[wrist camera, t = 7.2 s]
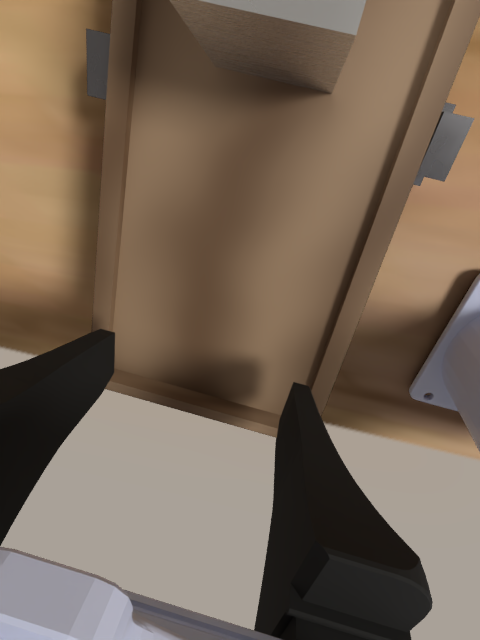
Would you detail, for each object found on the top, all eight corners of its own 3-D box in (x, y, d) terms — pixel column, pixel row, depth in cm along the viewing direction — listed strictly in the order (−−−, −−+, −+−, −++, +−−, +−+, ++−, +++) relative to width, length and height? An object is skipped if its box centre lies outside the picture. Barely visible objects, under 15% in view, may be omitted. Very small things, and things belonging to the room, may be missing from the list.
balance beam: (499, -72, 10) (543, -127, 8) (311, 419, 17) (312, 448, 16) (144, -144, 11) (113, -210, 9) (103, 361, 18) (81, 382, 16)
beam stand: (506, -22, 12) (561, -63, 9) (339, 358, 20) (343, 391, 18) (129, -102, 13) (83, -160, 10) (118, 298, 21) (91, 322, 18)
